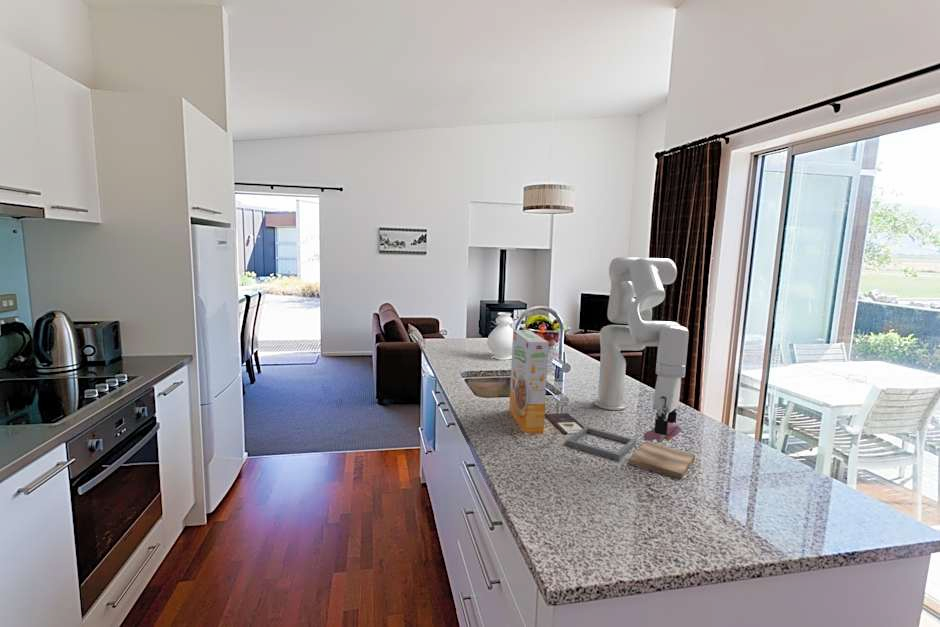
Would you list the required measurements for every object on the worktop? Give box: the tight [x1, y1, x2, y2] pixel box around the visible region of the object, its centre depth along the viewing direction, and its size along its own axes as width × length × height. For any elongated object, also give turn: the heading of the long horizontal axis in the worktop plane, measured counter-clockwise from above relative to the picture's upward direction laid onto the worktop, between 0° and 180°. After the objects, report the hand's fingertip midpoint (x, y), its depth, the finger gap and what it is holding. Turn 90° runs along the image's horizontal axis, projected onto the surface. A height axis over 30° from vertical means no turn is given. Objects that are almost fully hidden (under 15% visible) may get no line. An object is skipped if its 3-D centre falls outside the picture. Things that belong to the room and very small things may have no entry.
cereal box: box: [508, 329, 550, 434], centre depth 162 cm, size 22×6×30 cm, turn 8°
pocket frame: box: [565, 426, 637, 461], centre depth 146 cm, size 15×16×2 cm
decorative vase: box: [486, 311, 514, 359], centre depth 260 cm, size 18×18×25 cm
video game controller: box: [643, 422, 682, 444], centre depth 135 cm, size 10×5×7 cm, turn 118°
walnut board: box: [628, 441, 696, 480], centre depth 135 cm, size 16×14×2 cm
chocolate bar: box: [544, 412, 591, 435], centre depth 162 cm, size 9×1×18 cm
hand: (665, 429), depth 134 cm, fingers closed on video game controller, 9 cm apart
